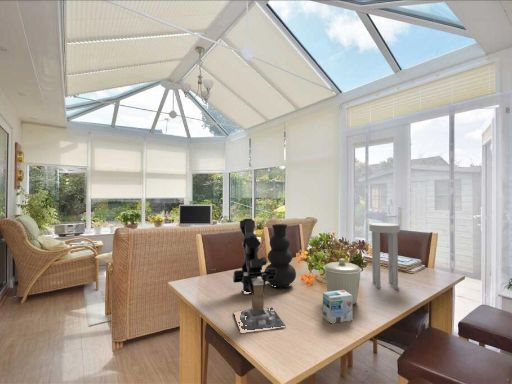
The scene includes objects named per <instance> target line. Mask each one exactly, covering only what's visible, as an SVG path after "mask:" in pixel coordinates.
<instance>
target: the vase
mask: <svg viewBox="0 0 512 384" xmlns="http://www.w3.org/2000/svg"><path fill="white" fill-rule="evenodd" d="M288 226H289V225H288V224H283V223H279V224H277V223H276V224H275V223H274V224H271V228H272V230H273V236H271V238H270V240H269V246H270V247H271V249H270V250H269V252H268V254H267V260H268V262H269V263H270V264H268V265H266V267H265V269H264V271H263V272H266V270H267V268H275V269H276V270H277V274H276V277H275V279H272V280H267V281H266V282H267V283H268V284H269V285H270V284H271V285H273V286H276V287H286V288H288V287H287V286H289V285H290V286H291V284H292V283H294V281H295V280H296V277H297V272H296V269H295V267H294V266H293V265H291V264H290V263H291V262H292V261H293V254H292V252H291V251H290V250H289V247H290V246H291V240H290V238H289V237H288V236H287V234H286V233H287V227H288ZM271 285H270V286H271ZM290 286H289V287H290Z"/></svg>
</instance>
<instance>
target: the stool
mask: <svg viewBox="0 0 512 384" xmlns="http://www.w3.org/2000/svg"><path fill="white" fill-rule="evenodd" d="M368 230H369V231H370V232H371V254H372V255H371V258H372V259H371V261H372V264H371V266H372V268H371V271H372V274H371V275H372V279H371V280H372V282H373V283H374V284H375V288H379V289H380V288H381V283H382V282H381V233H382V234H387V237H388V238H387V239H388V240H387V241H388V242H387V244H388V245H387V247H388V248H387V249H388V251H387V252H388V253H387V255H388V261H387V263H388V283H389V284H392V289H397V290H398V289H399V255H398V254H399V253H398V252H399V251H398V249H399V247H398V244H399V243H398V240H399V239H398V233H400V231H401V230H400V224H398V223H391V222H390V223H389V222H372V223H369V224H368Z"/></svg>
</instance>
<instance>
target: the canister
mask: <svg viewBox="0 0 512 384" xmlns="http://www.w3.org/2000/svg"><path fill="white" fill-rule="evenodd" d="M322 269H324V275H325V285H326V292H330V291H339V290H345V291H346V292H348V293H349V294H351V295H352V306H353V305H355V303H357V301H358V299H359V298H358V297H359V288H360V281H361V273H362V271H363V269H362V268H361V267H360V266H358V265H357V264H354V263H351V262H347V260H346V259H345V258H338V261H332V262H327V263H326V264H325V265H323V266H322Z"/></svg>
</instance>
